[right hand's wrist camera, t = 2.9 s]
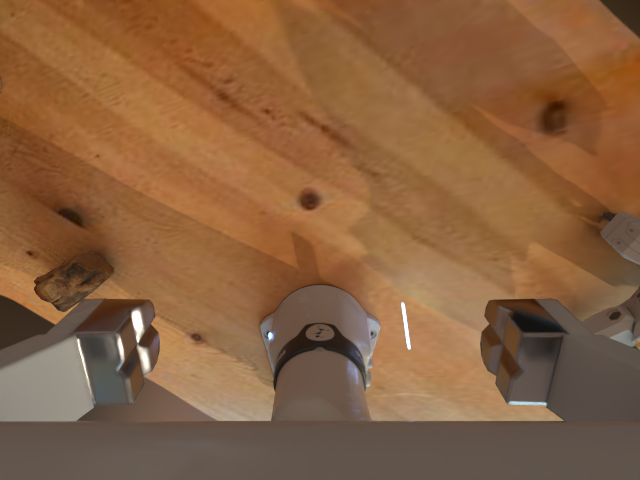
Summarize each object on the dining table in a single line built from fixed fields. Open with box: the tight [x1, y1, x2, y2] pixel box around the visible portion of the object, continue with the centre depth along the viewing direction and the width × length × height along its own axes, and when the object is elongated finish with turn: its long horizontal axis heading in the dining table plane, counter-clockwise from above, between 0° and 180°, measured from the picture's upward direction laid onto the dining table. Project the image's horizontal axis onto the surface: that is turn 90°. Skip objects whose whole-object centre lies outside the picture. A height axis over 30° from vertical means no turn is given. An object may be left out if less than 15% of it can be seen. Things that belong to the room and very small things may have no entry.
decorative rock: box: [34, 251, 114, 312], centre depth 57 cm, size 12×6×11 cm, turn 122°
